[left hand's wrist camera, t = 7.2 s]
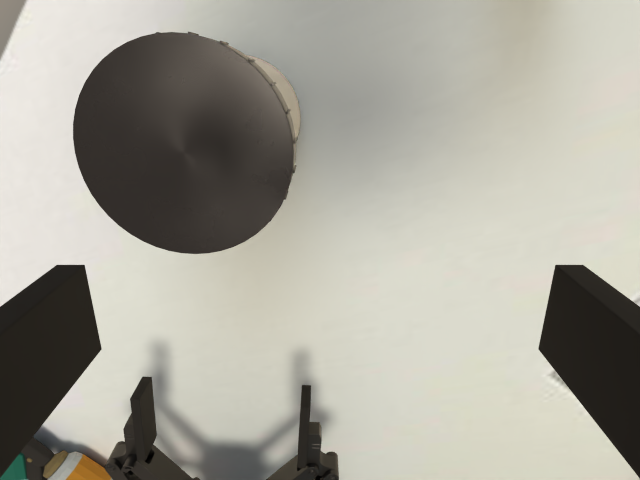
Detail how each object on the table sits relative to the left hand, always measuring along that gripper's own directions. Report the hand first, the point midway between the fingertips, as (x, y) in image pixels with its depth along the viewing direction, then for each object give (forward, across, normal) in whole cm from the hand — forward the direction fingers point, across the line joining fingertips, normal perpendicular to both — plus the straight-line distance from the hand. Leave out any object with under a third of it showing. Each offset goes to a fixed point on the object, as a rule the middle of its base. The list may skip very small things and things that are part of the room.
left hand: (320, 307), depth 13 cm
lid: (+10, +6, -3) cm, 12 cm away
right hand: (+19, +8, +18) cm, 28 cm away
